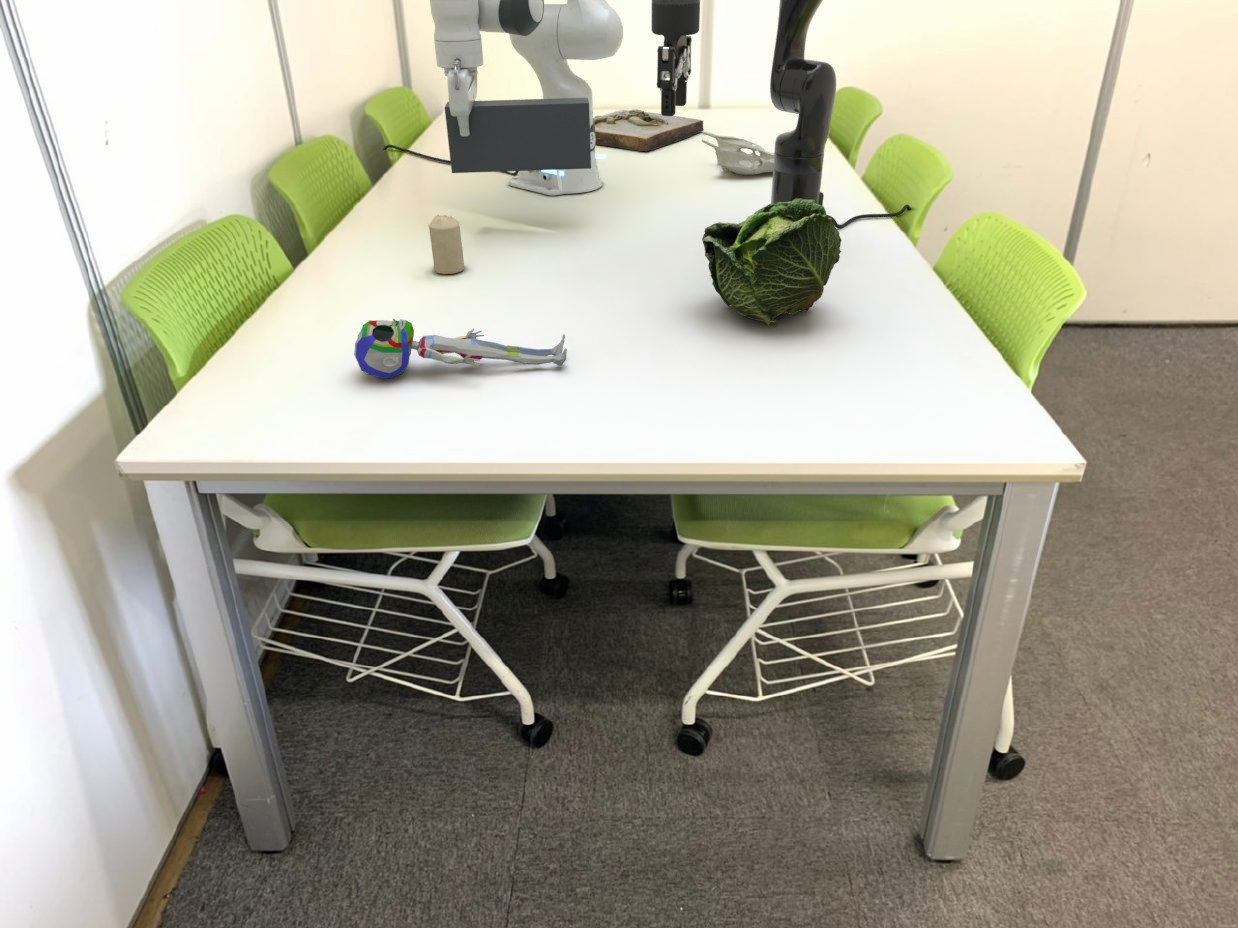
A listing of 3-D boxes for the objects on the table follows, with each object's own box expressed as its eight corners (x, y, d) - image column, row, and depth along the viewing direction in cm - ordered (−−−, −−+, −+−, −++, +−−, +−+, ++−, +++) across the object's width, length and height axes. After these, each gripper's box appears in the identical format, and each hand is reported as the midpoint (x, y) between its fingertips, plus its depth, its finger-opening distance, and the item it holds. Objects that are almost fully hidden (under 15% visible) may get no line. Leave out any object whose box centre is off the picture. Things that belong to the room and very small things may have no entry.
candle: (469, 265, 169) (463, 213, 163) (455, 275, 164) (449, 221, 159) (443, 262, 170) (437, 210, 165) (429, 272, 166) (422, 219, 160)
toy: (569, 347, 126) (349, 329, 122) (563, 400, 131) (350, 385, 126) (565, 318, 135) (359, 301, 130) (559, 369, 139) (360, 354, 134)
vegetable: (733, 339, 155) (677, 239, 148) (822, 277, 157) (772, 174, 149) (783, 360, 137) (723, 247, 129) (884, 290, 138) (830, 173, 131)
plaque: (647, 125, 237) (559, 112, 252) (647, 153, 241) (560, 139, 256) (706, 107, 258) (622, 97, 273) (705, 133, 262) (622, 121, 277)
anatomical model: (704, 128, 226) (804, 127, 222) (703, 165, 231) (801, 165, 227) (699, 142, 214) (805, 141, 210) (699, 181, 219) (803, 181, 215)
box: (451, 173, 179) (444, 107, 172) (454, 166, 184) (447, 101, 177) (591, 168, 180) (589, 103, 174) (590, 161, 185) (587, 97, 179)
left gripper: (472, 63, 162) (479, 143, 169) (479, 48, 179) (485, 121, 186) (436, 64, 161) (445, 144, 169) (447, 49, 179) (455, 121, 186)
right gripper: (690, 4, 132) (687, 120, 140) (708, -5, 143) (704, 103, 152) (641, 4, 133) (641, 118, 142) (662, -5, 145) (661, 101, 154)
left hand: (466, 131), depth 178 cm, fingers closed on box, 6 cm apart
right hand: (674, 110), depth 147 cm, fingers open, 8 cm apart
